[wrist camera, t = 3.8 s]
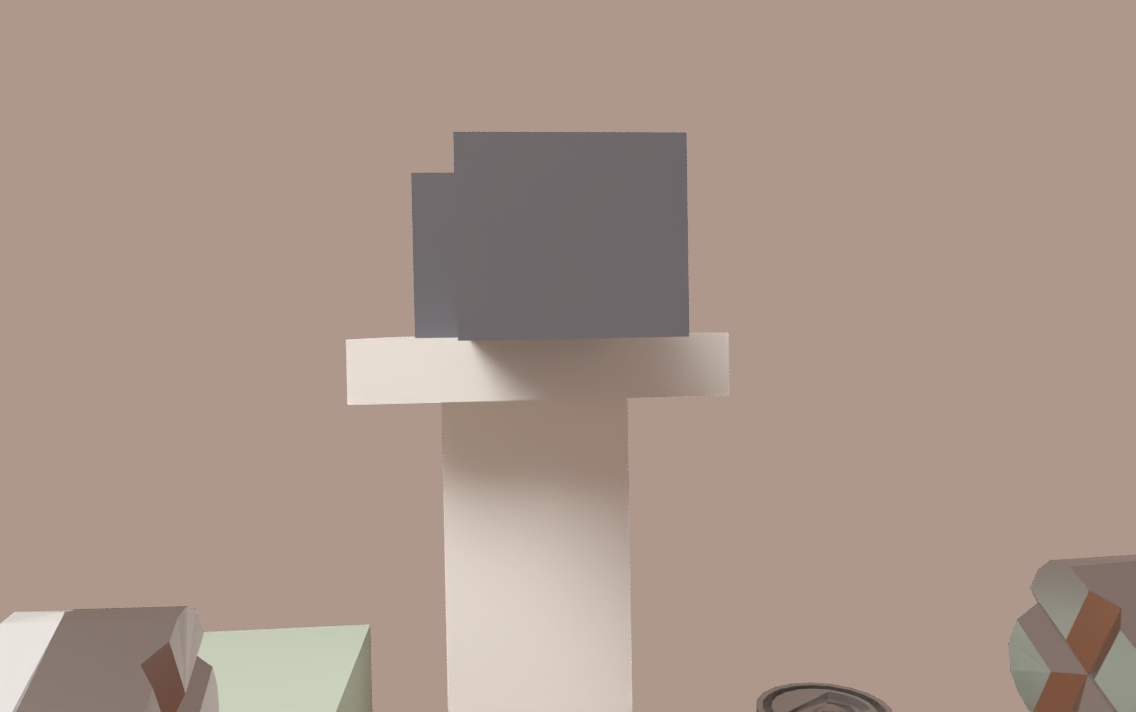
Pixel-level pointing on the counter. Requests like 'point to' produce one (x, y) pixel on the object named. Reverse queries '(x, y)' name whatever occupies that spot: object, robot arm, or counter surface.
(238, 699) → the socket block
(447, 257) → the grey boxy piece
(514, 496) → the tall shelf
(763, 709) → the beer can
